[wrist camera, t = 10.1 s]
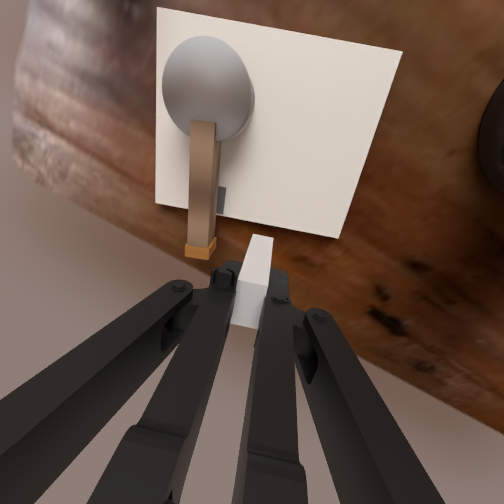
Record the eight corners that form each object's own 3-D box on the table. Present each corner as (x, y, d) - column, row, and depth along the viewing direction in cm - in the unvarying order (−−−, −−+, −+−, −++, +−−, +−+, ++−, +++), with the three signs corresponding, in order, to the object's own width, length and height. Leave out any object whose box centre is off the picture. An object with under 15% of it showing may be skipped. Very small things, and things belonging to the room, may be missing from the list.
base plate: (394, 57, 22) (403, 51, 21) (335, 234, 29) (338, 238, 28) (164, 15, 22) (156, 6, 21) (161, 199, 29) (155, 203, 28)
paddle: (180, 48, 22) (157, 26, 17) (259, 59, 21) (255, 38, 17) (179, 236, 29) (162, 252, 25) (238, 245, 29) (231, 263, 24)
